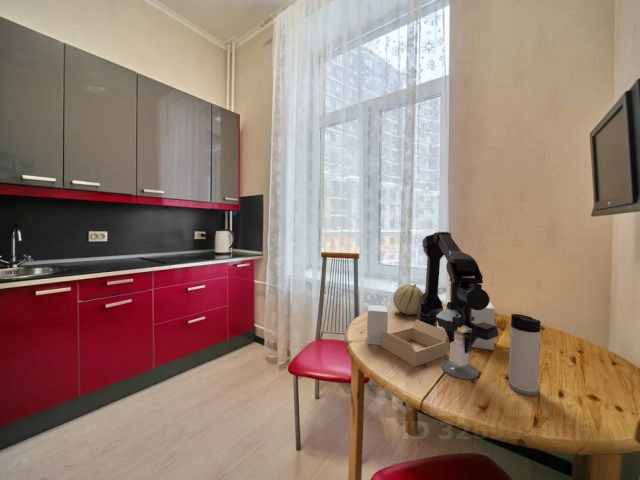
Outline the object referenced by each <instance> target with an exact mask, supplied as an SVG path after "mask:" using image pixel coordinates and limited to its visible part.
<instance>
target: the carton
mask: <svg viewBox="0 0 640 480" xmlns="http://www.w3.org/2000/svg"><path fill="white" fill-rule="evenodd" d="M380 331H381V332H382V334H383V335H382V345H381V347H382V349H384V350H385V351H388V352H390V353H391V354H393V355H395V356H397V357H399V358H400V359H402V360H403V361H405V362H406V363H409V364H410V365H412V366H414V367H417V366H420V365H424V364H425V363H428V362H431V361H434V360H436V359H438V358H442V357H445V356H447V343H448V342H447V341H446V340H447V338H448V336H447V333H446V331H445V329H443V328H441V327H440V328H439V327H435V326H432V325H429V324H427V323H424V322H422V321H420V320H419V319H415V321H414V324H413V325H412V326H411V327H408V328H404V329H400V330H395V331H392V332H388V331H387V332H386V331H384V330H382V329H380ZM410 340H413V341H415V342H416V343H419V344H420V345H423V346H425V347H423V348H421V349H417V350H415V348H414V347H413V346H412V344H411V343H409V342H408V341H410Z"/></svg>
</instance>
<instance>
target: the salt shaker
mask: <svg viewBox="0 0 640 480" xmlns="http://www.w3.org/2000/svg"><path fill="white" fill-rule="evenodd" d="M463 333H464V331H462V330H457V331H455V332H454V341H452V342H451V343H450V342H449V345H450V346H449V359H448V360H450V362H452V363H454V364H456V365H457V366H460V367H462V366H464V365H467V364H469V358H470V357H469V354H470V351H469V352H468V353H467V354H466V353H465V349H464V347H465V336H464V335H463Z"/></svg>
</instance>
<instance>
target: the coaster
mask: <svg viewBox="0 0 640 480" xmlns="http://www.w3.org/2000/svg"><path fill="white" fill-rule="evenodd" d="M440 364H441V365H440V367H441V369H442V371H443V372H444V373H446V374H447V375H449V376H451V377H454V378H455V379H456V378H457V379H461V380H475V379H477V378H478V377H479V370H478V368H476V367H475V366H474V365H472V364H471V363H468V364H467V365H464V366H462V367H460V366H457V365H456V364H454V363H452V362H450V360H449V359H446V360H443V361H442V362H441V363H440Z"/></svg>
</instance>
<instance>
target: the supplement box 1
mask: <svg viewBox="0 0 640 480" xmlns="http://www.w3.org/2000/svg"><path fill="white" fill-rule="evenodd" d="M388 312H389V311H388V307H387V306H385V305H368V306H367V326H366V327H367V329H366V331H367V336H366V338H367V341H366V342H367V343H366V344H367V345H376V346H382V335H383V334H382V332H381V331H380V329H382V330H384V331H386V332H388V322H389V320H388V319H389V318H388Z"/></svg>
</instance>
